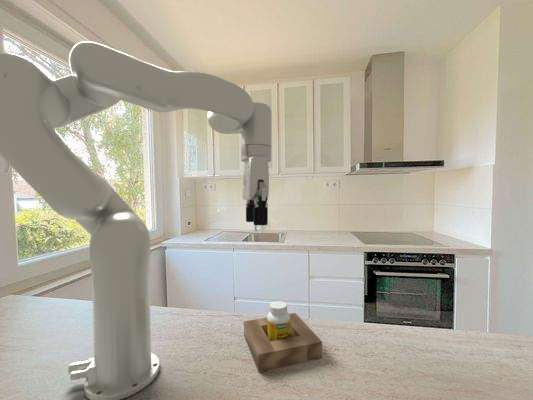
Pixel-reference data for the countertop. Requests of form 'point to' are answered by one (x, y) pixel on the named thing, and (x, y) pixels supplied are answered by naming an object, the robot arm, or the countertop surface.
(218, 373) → the countertop surface
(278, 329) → the supplement bottle
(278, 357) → the socket block
